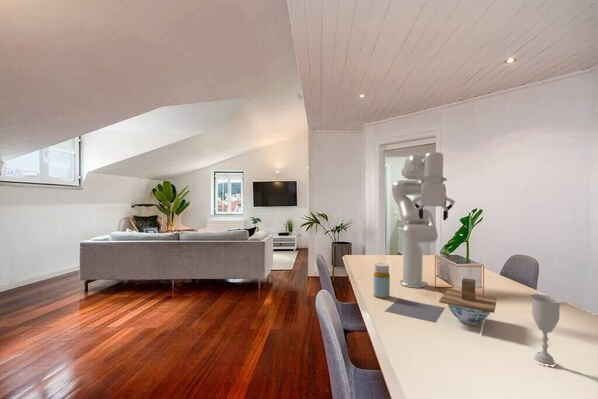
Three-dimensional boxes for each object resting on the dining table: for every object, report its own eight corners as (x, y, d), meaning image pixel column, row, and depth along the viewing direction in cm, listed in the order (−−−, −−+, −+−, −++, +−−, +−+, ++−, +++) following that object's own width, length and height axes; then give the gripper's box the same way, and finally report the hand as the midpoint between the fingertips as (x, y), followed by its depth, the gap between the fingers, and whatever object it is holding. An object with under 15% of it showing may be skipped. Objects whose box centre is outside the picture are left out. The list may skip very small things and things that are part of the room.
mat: (398, 299, 139) (398, 298, 139) (445, 308, 129) (445, 307, 129) (384, 312, 124) (384, 311, 124) (435, 323, 113) (435, 322, 113)
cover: (447, 291, 127) (447, 272, 127) (496, 299, 117) (497, 278, 117) (439, 302, 113) (439, 281, 113) (494, 312, 103) (494, 289, 103)
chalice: (522, 356, 90) (523, 294, 90) (544, 355, 91) (545, 294, 91) (544, 370, 83) (545, 303, 83) (568, 369, 84) (569, 302, 83)
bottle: (387, 295, 146) (388, 263, 145) (390, 300, 139) (391, 266, 138) (372, 294, 146) (373, 262, 146) (374, 299, 139) (375, 266, 139)
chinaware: (489, 318, 119) (489, 298, 119) (495, 333, 105) (495, 310, 105) (445, 311, 125) (446, 292, 125) (446, 325, 112) (446, 304, 112)
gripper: (456, 180, 135) (455, 220, 135) (415, 181, 145) (414, 218, 145) (453, 179, 129) (453, 221, 129) (411, 180, 139) (410, 218, 139)
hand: (432, 219), depth 137 cm, fingers open, 9 cm apart
